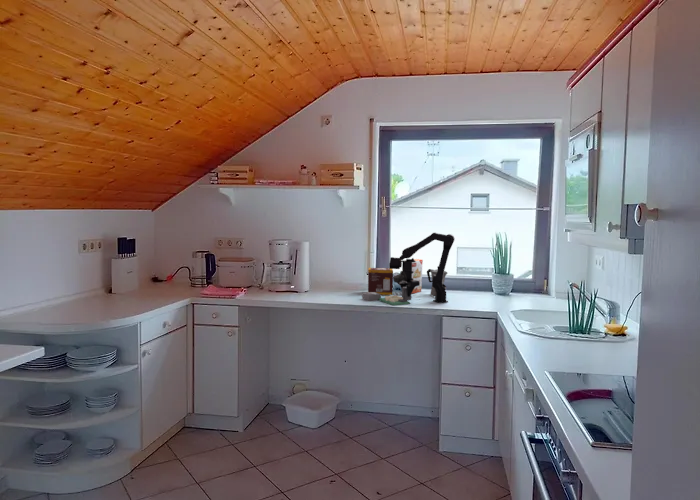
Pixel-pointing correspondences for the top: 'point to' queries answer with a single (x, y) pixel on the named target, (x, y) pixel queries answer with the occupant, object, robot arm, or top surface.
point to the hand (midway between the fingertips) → (406, 295)
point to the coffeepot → (432, 279)
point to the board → (394, 300)
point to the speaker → (371, 296)
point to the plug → (405, 294)
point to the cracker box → (417, 274)
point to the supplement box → (380, 280)
